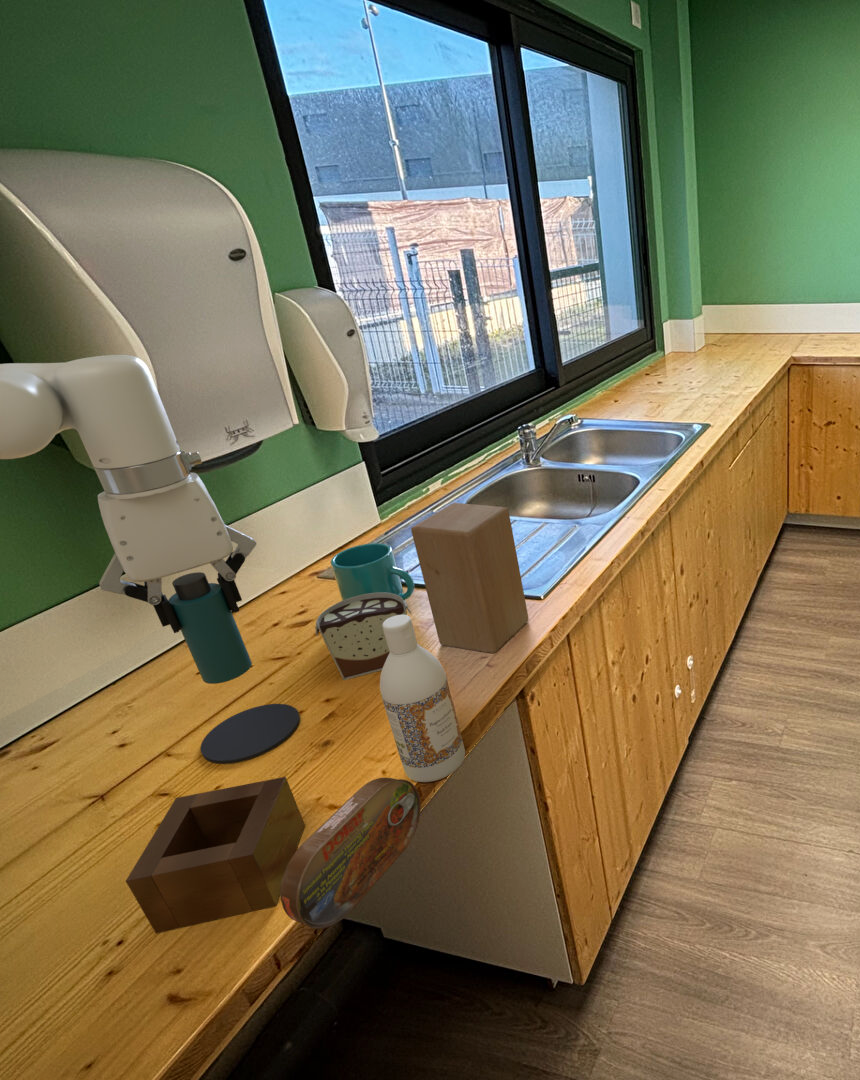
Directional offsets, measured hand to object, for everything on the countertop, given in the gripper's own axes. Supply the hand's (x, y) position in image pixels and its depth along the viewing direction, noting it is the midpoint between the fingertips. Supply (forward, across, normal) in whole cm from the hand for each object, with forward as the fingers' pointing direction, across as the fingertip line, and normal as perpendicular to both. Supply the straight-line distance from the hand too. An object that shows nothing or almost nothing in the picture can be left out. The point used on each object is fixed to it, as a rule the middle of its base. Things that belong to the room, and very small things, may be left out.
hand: (204, 616), depth 83 cm
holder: (+18, +7, +24) cm, 30 cm away
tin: (+18, -2, +34) cm, 38 cm away
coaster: (+18, 0, 0) cm, 18 cm away
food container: (+18, -18, -5) cm, 26 cm away
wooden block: (+18, -32, 0) cm, 37 cm away
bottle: (+8, 0, 0) cm, 8 cm away
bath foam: (+18, -14, +23) cm, 33 cm away
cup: (+18, -24, -17) cm, 34 cm away
